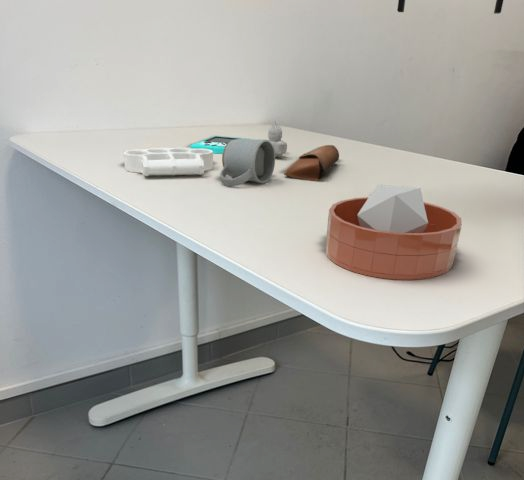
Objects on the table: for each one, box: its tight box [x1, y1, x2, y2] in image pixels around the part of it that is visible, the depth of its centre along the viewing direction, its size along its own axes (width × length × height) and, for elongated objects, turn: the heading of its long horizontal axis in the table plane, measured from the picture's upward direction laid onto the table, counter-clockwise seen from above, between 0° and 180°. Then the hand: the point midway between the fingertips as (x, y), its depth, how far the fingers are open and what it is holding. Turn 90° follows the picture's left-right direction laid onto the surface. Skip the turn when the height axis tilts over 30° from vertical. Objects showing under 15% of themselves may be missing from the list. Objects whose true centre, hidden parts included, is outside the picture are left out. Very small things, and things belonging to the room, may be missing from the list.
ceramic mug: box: [219, 138, 276, 187], centre depth 101 cm, size 11×8×8 cm
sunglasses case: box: [283, 144, 340, 182], centre depth 112 cm, size 18×7×7 cm
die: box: [357, 183, 428, 233], centre depth 68 cm, size 8×9×10 cm
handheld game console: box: [189, 135, 245, 154], centre depth 133 cm, size 10×16×1 cm, turn 162°
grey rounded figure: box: [267, 120, 288, 158], centre depth 122 cm, size 5×7×8 cm
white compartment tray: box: [123, 147, 214, 177], centre depth 109 cm, size 3×18×15 cm
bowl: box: [325, 196, 463, 281], centre depth 69 cm, size 16×16×6 cm
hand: (447, 12), depth 78 cm, fingers open, 13 cm apart
